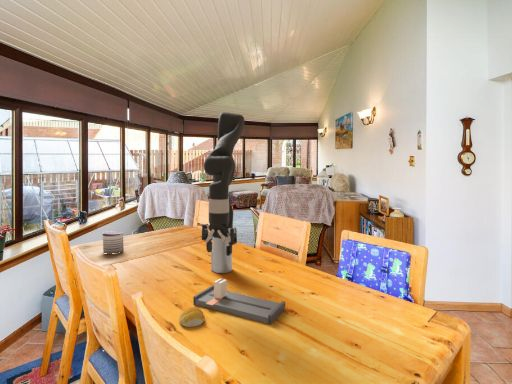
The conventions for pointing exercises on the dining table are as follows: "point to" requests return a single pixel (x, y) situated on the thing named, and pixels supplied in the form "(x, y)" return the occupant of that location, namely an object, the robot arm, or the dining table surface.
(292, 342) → the dining table surface
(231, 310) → the fader board
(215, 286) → the fader cap
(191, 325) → the bread roll
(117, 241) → the can
